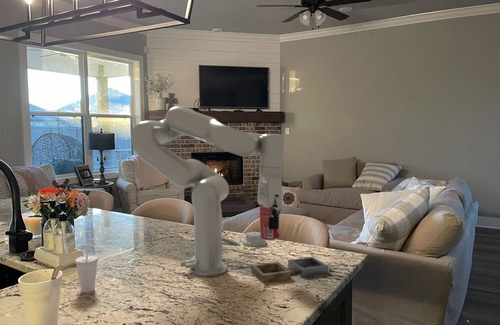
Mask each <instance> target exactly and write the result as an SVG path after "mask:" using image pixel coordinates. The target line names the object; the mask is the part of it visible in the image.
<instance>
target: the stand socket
mask: <svg viewBox="0 0 500 325" xmlns="http://www.w3.org/2000/svg"><path fill="white" fill-rule="evenodd" d="M274 271H275V272H274ZM266 272H269V273H266ZM250 273H251V274H252V275H253V276H254V277H255V278H256V279H257V280H258V281H259V282H260V283H261V284H267V283H274V282H281V281H286V280H287V281H288V280H291V279H292V274H291V271H290V270H288V269H287V266H284V265H283V264H282V263H281V262H279V261H272V262H265V263H264V262H263V263H256V264H251V265H250Z"/></svg>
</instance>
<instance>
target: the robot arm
mask: <svg viewBox="0 0 500 325" xmlns="http://www.w3.org/2000/svg"><path fill="white" fill-rule="evenodd" d="M130 136H131V137H130V139H131V140H130V141H131V145H132V148H133V150H134V152H135V153H136V155H137V156H138V157H139V158H140V159H141V161H143V162H144V163H146V165H148V166H149V167H151V168H152V169H154V170H156V172H158V173H159V174H160V175H161V176H163V177H164V178H165V179H167V180H169V182H171V183H173V184H174V186H176V187H178V188H180V189H181V188H182V189H185V188H189V187H190V188H191V187H192V191H191V203H192V209H193V233H194V234H193V235H194V236H193V241H194V242H193V244H194V245H193V246H194V249H193V250H194V254H193V256H192V257H191V258H189V260H180V262H179V264H180V267H182V268H183V267H185V268H186V269H189V271H190V273H191V274H192V275H194V276H199V277H216V276H220V275H221V274H224V273H226V272H227V269H228V265H227V264H226V263H224V262H223V241H222V237H223V214H222V208H221V207H222V206H221V202H222V201H224V200H225V199H226V198H227V196H228V195H229V192H230V187H229V184H228V182H227V180H226V179H225V178H224V177H223V176H222V175H221V174H219V173H217V172H216V171H214V170H213V169H212V168H211V167H209V166H208V165H206V164H205V163H203V162H202V161H201V160H198V159H195V158H187V159H186V158H185V159H184V158H183V157H181V156H179V155H178V154H176V153H175V152H173V151H172V150H171V149H169V148H168V147H166V146H164V144H165V145H166V144H168V143H170V142H172V141H174V140H177V139H178V138H180V137H182V136H188V137H191V138H193V139H196V140H198V141H202V142H205V143H206V144H208V145H211V146H213V147H215V148H218V149H221V151H225V152H228V153H231V154H234V155H236V156H240V157H249V156H254V155H255V156H256V155H259V175H258V176H259V178H258V184H257V185H258V186H257V197H256V198H257V200H256V201H257V204H258V205H259V207H260V206H261V203H262V204H263V206H264V207H265V208H269V209H270V217H269V229H270V230H272V229H278V228H279V229H280V214H281V212H282V209H283V207H282V204H283V185H282V184H283V182H282V178H283V172H284V145H285V143H284V141H285V138H284V136H283V135H282V134H280V133H264V134H263V133H258V132H256V133H255V132H251V131H250V132H249V131H248V132H247V131H243V130H239V129H236V128H233V127H230V126H227V125H225V124H223V123H221V122H219V120H217V119H216V118H215V117H212V116H209V115H206V114H203V113H200V112H197V111H195V110H194V109H193V108H190V107H185V106H179V105H178V106H172V107H171V108H170V109H168V111H166V114H165V118H164V119H161V120H144V121H143V120H142V121H140V122H138V123H136V124H135V125H134V126H133V128H132V131H131V134H130ZM272 206H276V207H272ZM273 209H276V210H274V212H273Z"/></svg>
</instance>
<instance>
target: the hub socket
mask: <svg viewBox="0 0 500 325" xmlns="http://www.w3.org/2000/svg"><path fill="white" fill-rule="evenodd" d="M306 266H307V267H306ZM308 266H309V267H308ZM310 266H311V267H310ZM287 267H288V268H287ZM287 267H286V268H287V269H288V270H290V271H291V275H296V274H297V275H298V276H299V277H301V278H308V277H314V276H320V275H327V274H328V273H329V266H328V265H327V264H326V263H324V262H323V261H321V260H319V259H317V258H316V257H314V256H309V257H301V258H300V257H299V258H295V259H294V258H293V259H288V260H287Z"/></svg>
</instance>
